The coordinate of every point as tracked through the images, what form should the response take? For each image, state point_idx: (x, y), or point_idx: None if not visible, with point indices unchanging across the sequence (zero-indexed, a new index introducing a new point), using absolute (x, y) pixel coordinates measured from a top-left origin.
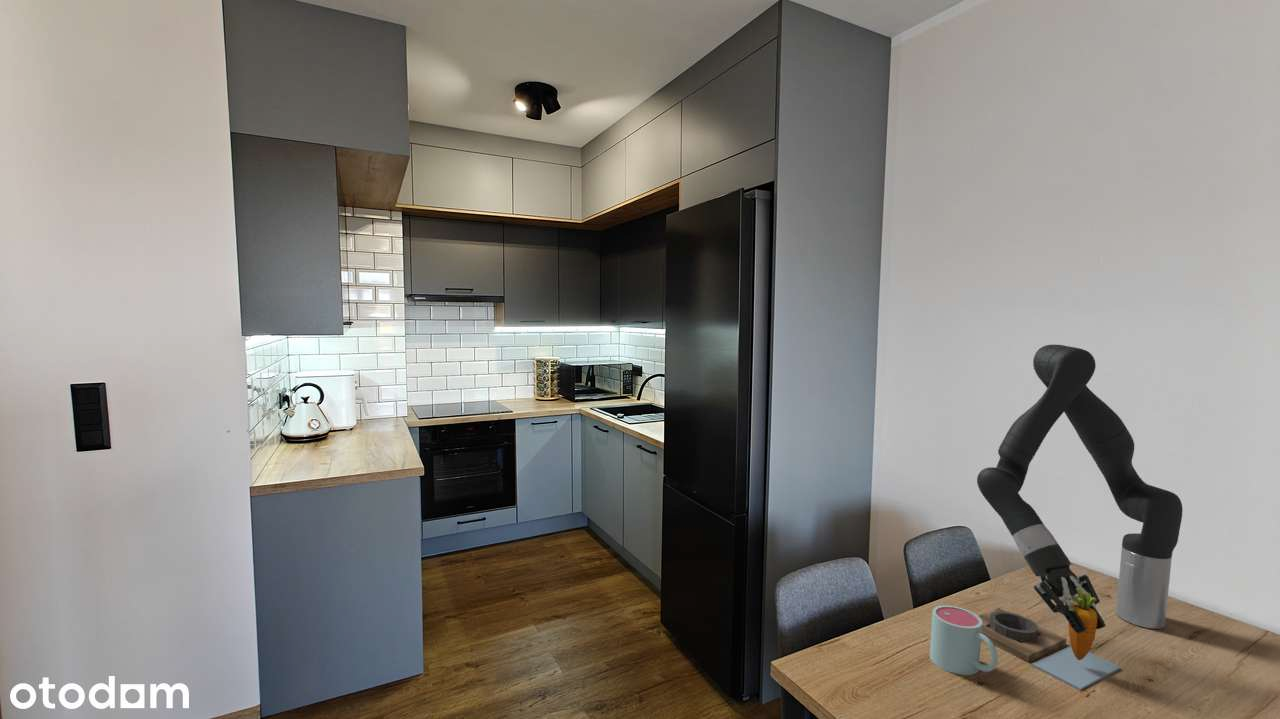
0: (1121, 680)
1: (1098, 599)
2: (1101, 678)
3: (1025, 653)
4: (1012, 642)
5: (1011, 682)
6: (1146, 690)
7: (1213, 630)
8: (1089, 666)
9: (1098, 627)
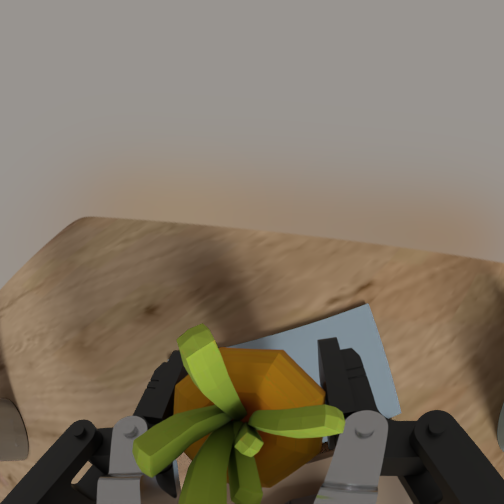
0: (216, 323)
1: (70, 429)
2: (264, 337)
3: None
4: (385, 488)
5: (487, 342)
6: (199, 281)
7: None
8: None
9: None
